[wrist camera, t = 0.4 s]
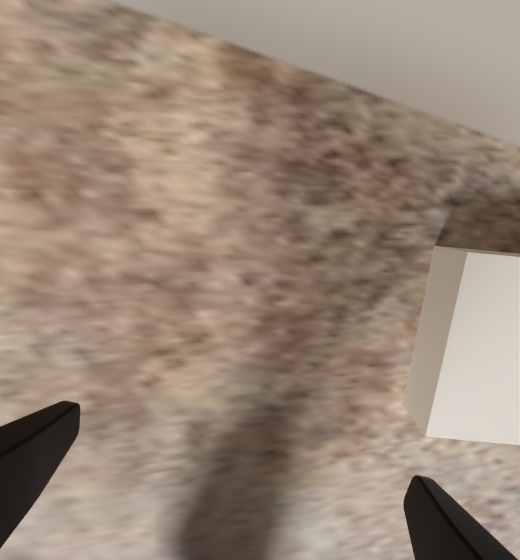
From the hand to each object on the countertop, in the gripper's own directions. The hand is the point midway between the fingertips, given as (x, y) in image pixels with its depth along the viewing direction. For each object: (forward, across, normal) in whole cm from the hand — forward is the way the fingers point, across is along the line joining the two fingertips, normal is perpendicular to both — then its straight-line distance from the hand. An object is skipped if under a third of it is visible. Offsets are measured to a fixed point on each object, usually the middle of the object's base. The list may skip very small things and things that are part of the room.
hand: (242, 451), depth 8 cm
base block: (+16, -17, 0) cm, 23 cm away
